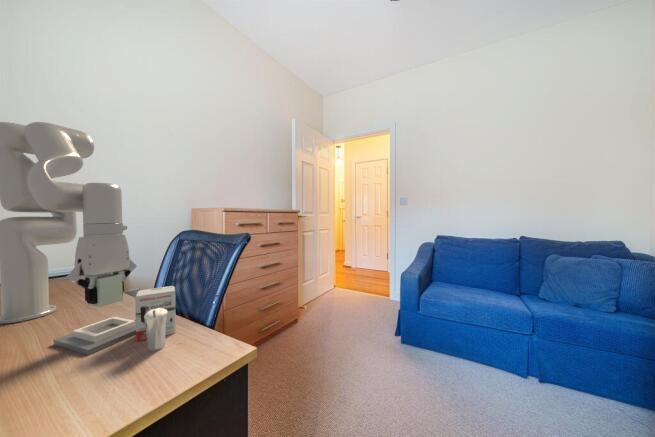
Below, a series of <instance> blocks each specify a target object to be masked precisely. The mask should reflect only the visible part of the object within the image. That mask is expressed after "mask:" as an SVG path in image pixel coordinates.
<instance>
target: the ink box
mask: <svg viewBox="0 0 655 437" xmlns="http://www.w3.org/2000/svg"><path fill="white" fill-rule="evenodd" d="M157 308H164V309H166V310H167V311H168V314H167V323H166V336H169V335H173V334H175V333H176V286H174V285H169V286H162V287H154V288H148V289H141V290H138V291H137V292H136V294H135V320H136V335H135V342H136V343H139V342H143V341H147V333H146V326H145V319H144V315H145V314H146V313H147V312H148V311H150V310H154V309H157Z"/></svg>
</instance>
